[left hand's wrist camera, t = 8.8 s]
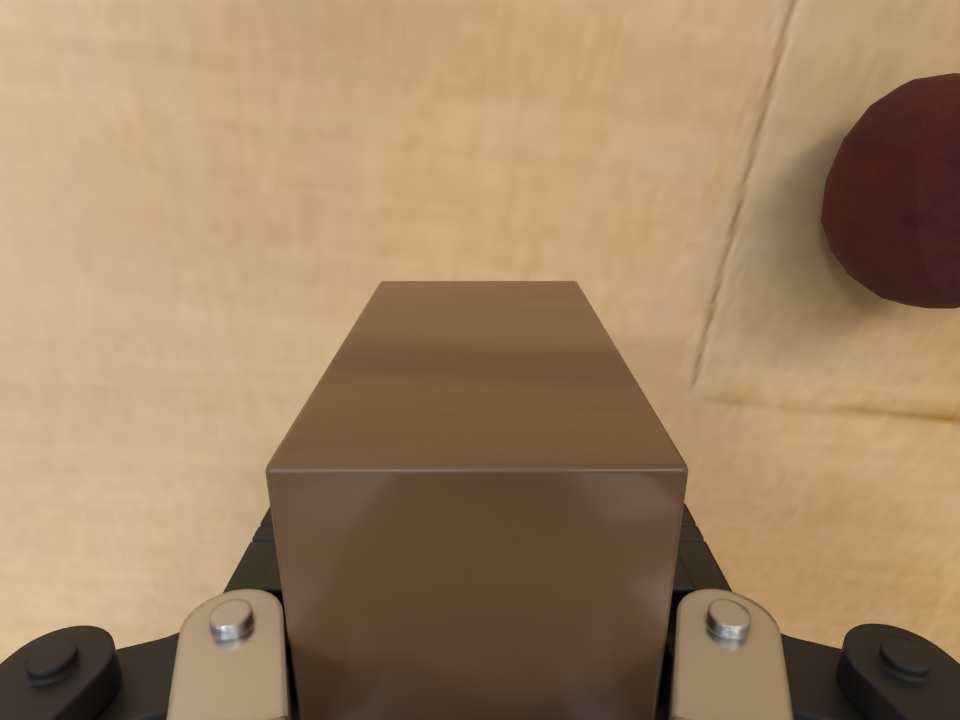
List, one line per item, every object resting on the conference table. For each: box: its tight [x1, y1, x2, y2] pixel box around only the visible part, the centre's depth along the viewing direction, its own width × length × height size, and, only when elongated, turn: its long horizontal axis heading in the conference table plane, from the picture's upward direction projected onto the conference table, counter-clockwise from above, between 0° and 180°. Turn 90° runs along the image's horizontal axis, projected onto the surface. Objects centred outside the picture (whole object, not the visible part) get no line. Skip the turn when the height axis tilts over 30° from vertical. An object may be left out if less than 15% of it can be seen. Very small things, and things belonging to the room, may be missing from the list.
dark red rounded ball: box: [821, 73, 960, 308], centre depth 22 cm, size 7×8×7 cm
